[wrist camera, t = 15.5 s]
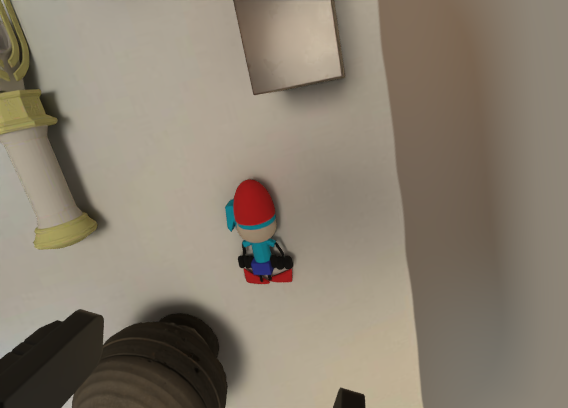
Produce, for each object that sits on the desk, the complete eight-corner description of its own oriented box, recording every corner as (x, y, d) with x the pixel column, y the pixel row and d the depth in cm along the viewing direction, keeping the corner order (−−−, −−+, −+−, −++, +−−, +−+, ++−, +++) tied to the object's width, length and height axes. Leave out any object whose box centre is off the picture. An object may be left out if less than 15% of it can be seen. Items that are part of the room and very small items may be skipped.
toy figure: (300, 272, 50) (283, 170, 43) (292, 298, 45) (272, 188, 39) (247, 271, 52) (223, 173, 45) (235, 295, 47) (206, 191, 41)
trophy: (72, 253, 43) (-52, -31, 35) (21, 261, 45) (-109, -7, 37) (113, 226, 51) (20, -12, 42) (69, 234, 53) (-30, 7, 44)
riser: (255, -52, 37) (208, -116, 25) (323, -73, 36) (309, -152, 23) (282, 90, 41) (253, 95, 29) (345, 77, 40) (342, 76, 27)
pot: (157, 404, 59) (64, 542, 40) (116, 304, 56) (-6, 402, 37) (260, 389, 55) (212, 535, 36) (222, 280, 52) (146, 376, 33)
